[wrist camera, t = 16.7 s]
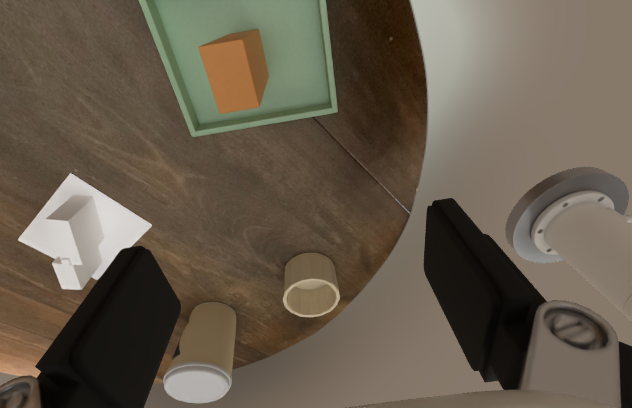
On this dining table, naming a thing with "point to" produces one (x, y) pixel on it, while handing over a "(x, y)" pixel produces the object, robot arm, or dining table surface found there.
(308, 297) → the cup
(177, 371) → the coffee cup
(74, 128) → the dining table surface
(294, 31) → the tray
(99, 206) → the napkin holder
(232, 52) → the orange rectangular bar
